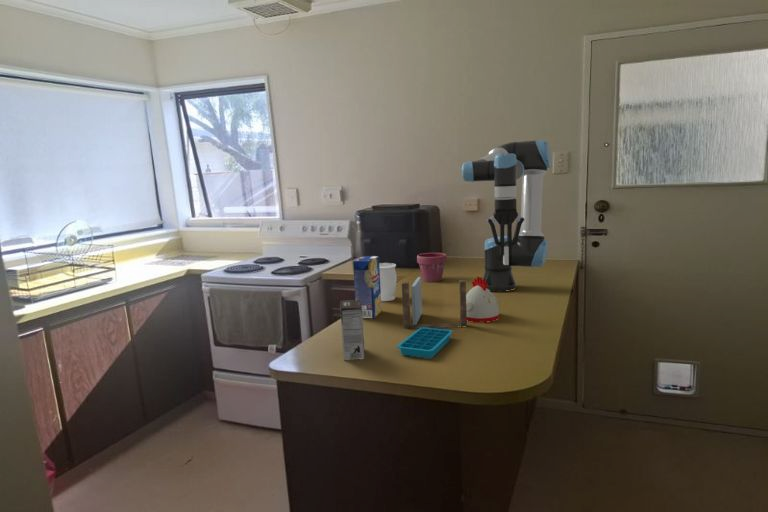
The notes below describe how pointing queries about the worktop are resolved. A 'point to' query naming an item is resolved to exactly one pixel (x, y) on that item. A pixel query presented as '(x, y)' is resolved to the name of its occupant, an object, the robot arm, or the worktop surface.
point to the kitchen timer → (481, 303)
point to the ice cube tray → (425, 342)
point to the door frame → (408, 324)
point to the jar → (387, 281)
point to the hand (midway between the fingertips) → (505, 264)
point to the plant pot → (431, 266)
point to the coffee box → (352, 329)
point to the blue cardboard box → (368, 285)
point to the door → (416, 300)
